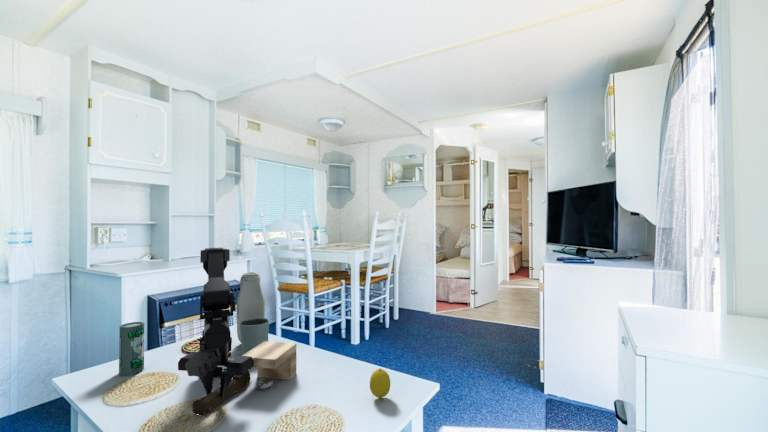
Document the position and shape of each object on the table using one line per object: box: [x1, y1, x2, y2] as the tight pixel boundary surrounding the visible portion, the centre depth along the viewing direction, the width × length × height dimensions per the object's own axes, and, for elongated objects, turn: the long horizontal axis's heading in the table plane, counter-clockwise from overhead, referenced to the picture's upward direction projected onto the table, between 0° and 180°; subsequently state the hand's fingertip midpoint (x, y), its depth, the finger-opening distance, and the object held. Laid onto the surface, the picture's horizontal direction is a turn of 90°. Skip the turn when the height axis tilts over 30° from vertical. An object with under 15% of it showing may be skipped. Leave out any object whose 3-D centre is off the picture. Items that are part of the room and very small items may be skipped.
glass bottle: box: [236, 271, 266, 343], centre depth 134 cm, size 10×10×28 cm
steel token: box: [256, 377, 274, 393], centre depth 97 cm, size 4×4×2 cm
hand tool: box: [191, 370, 251, 416], centre depth 92 cm, size 19×4×5 cm, turn 160°
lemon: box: [369, 368, 391, 400], centre depth 91 cm, size 6×6×8 cm
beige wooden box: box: [241, 340, 297, 380], centre depth 101 cm, size 11×13×10 cm
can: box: [118, 321, 145, 377], centre depth 109 cm, size 6×6×15 cm
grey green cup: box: [240, 317, 270, 356], centre depth 122 cm, size 10×10×12 cm
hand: (215, 396), depth 89 cm, fingers open, 4 cm apart
